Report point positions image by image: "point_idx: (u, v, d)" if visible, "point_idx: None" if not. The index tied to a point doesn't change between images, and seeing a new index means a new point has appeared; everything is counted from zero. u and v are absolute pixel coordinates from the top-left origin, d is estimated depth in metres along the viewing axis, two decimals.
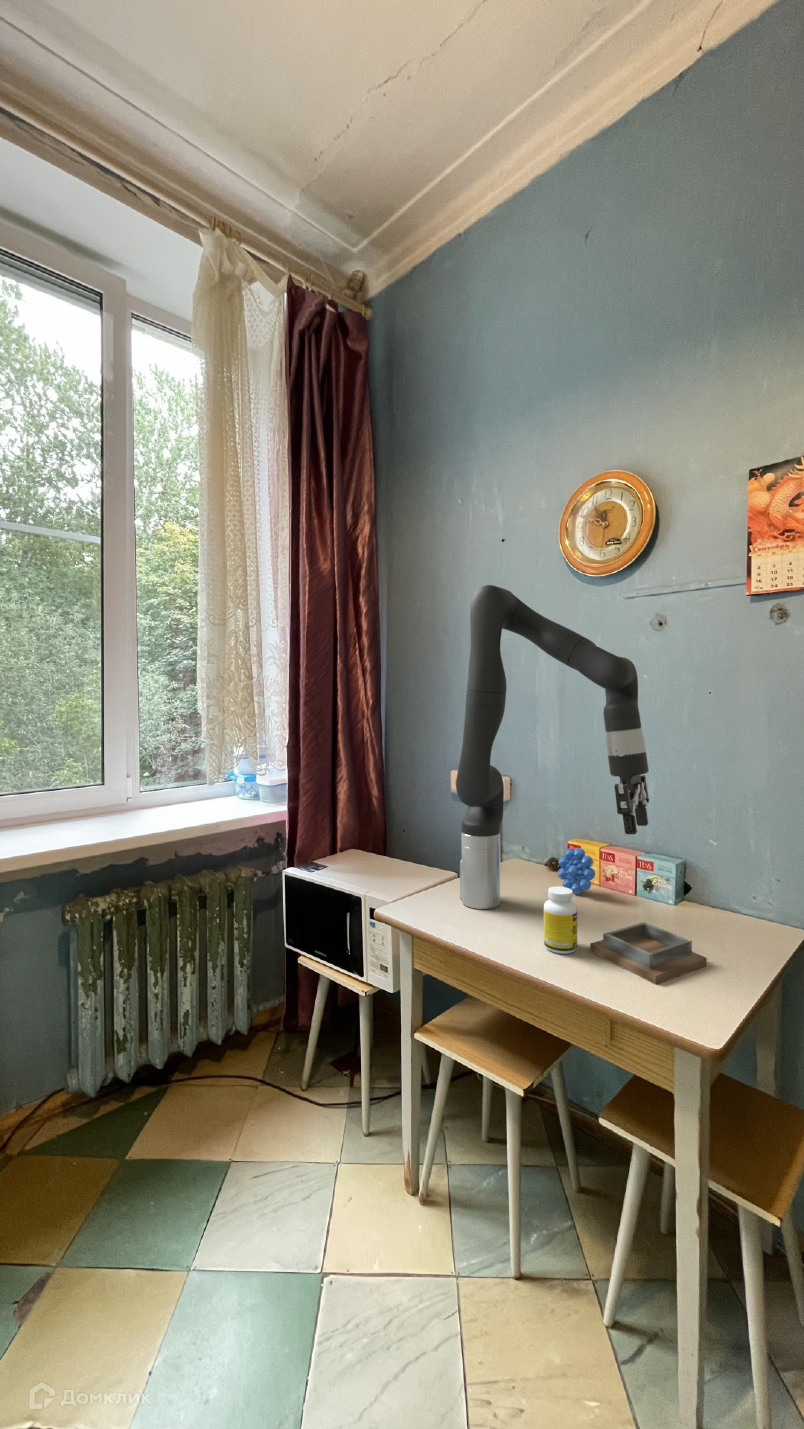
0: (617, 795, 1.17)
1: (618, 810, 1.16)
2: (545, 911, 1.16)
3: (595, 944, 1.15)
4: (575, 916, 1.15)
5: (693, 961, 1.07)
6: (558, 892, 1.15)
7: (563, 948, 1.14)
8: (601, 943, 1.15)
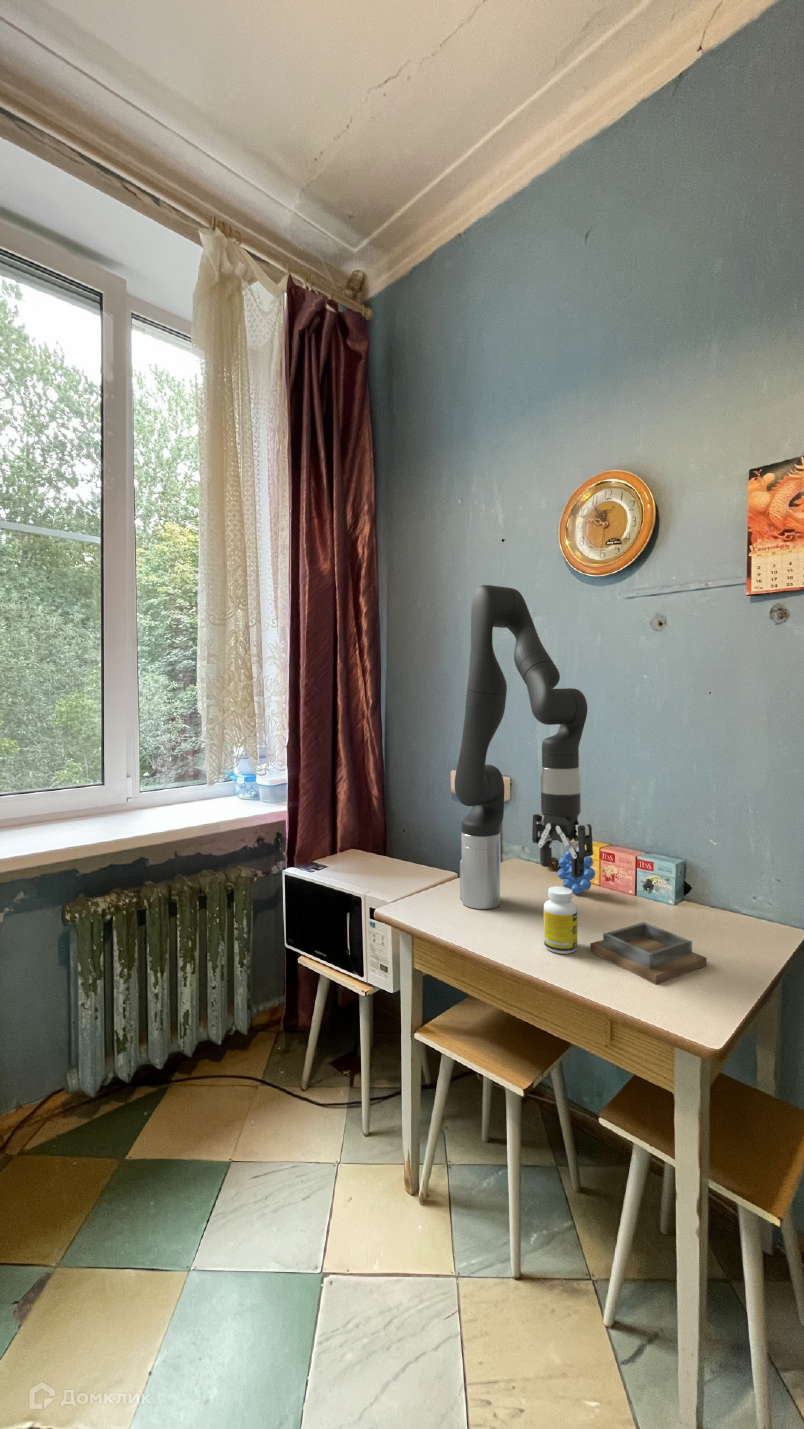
0: None
1: None
2: (545, 911, 1.16)
3: (595, 944, 1.15)
4: (575, 916, 1.15)
5: (693, 961, 1.07)
6: (558, 892, 1.15)
7: (563, 948, 1.14)
8: (601, 943, 1.15)
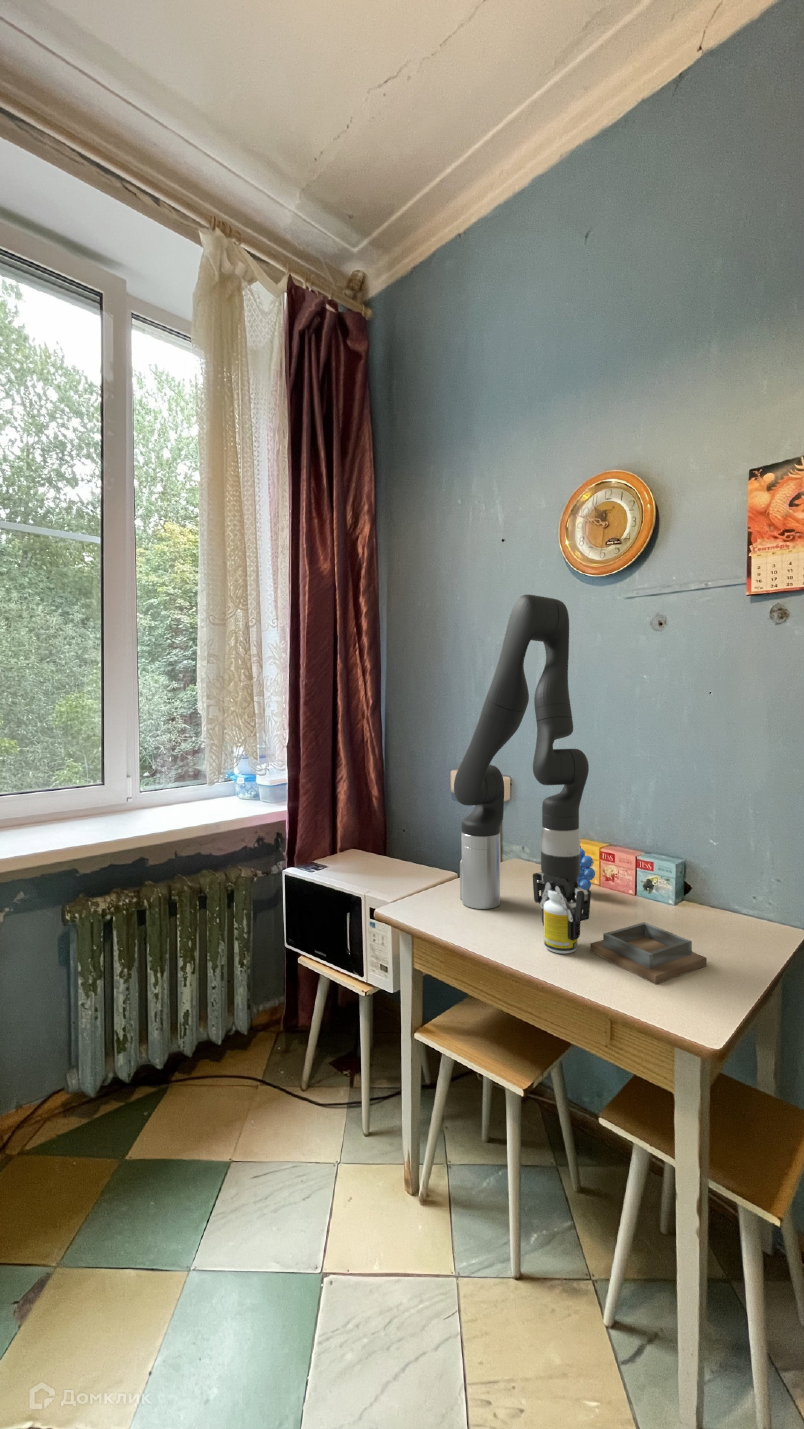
0: None
1: None
2: (545, 911, 1.16)
3: (595, 944, 1.15)
4: None
5: (693, 961, 1.07)
6: None
7: (563, 947, 1.14)
8: (601, 943, 1.15)
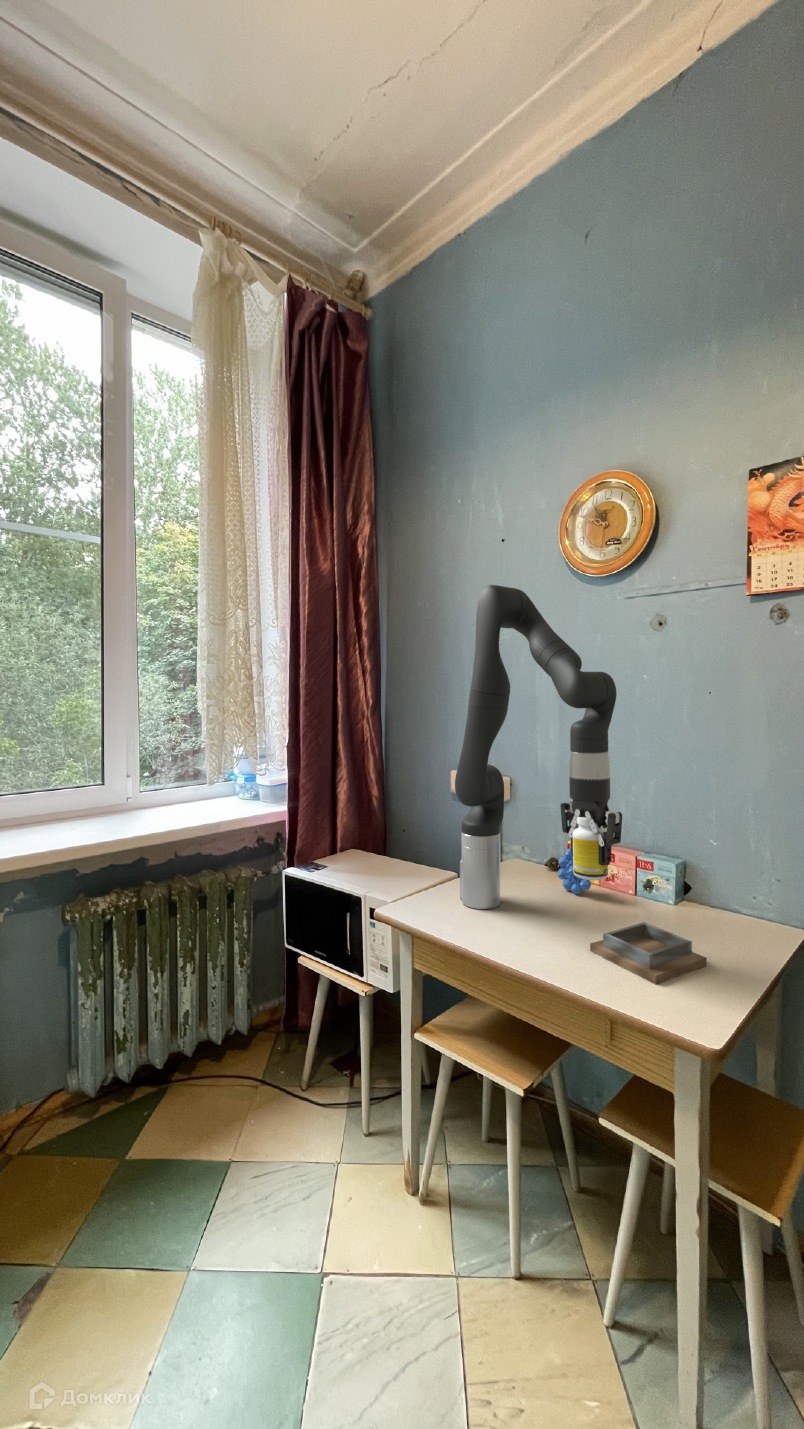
0: None
1: None
2: (574, 838, 1.13)
3: (595, 944, 1.15)
4: None
5: (693, 961, 1.07)
6: None
7: (594, 874, 1.11)
8: (601, 943, 1.15)
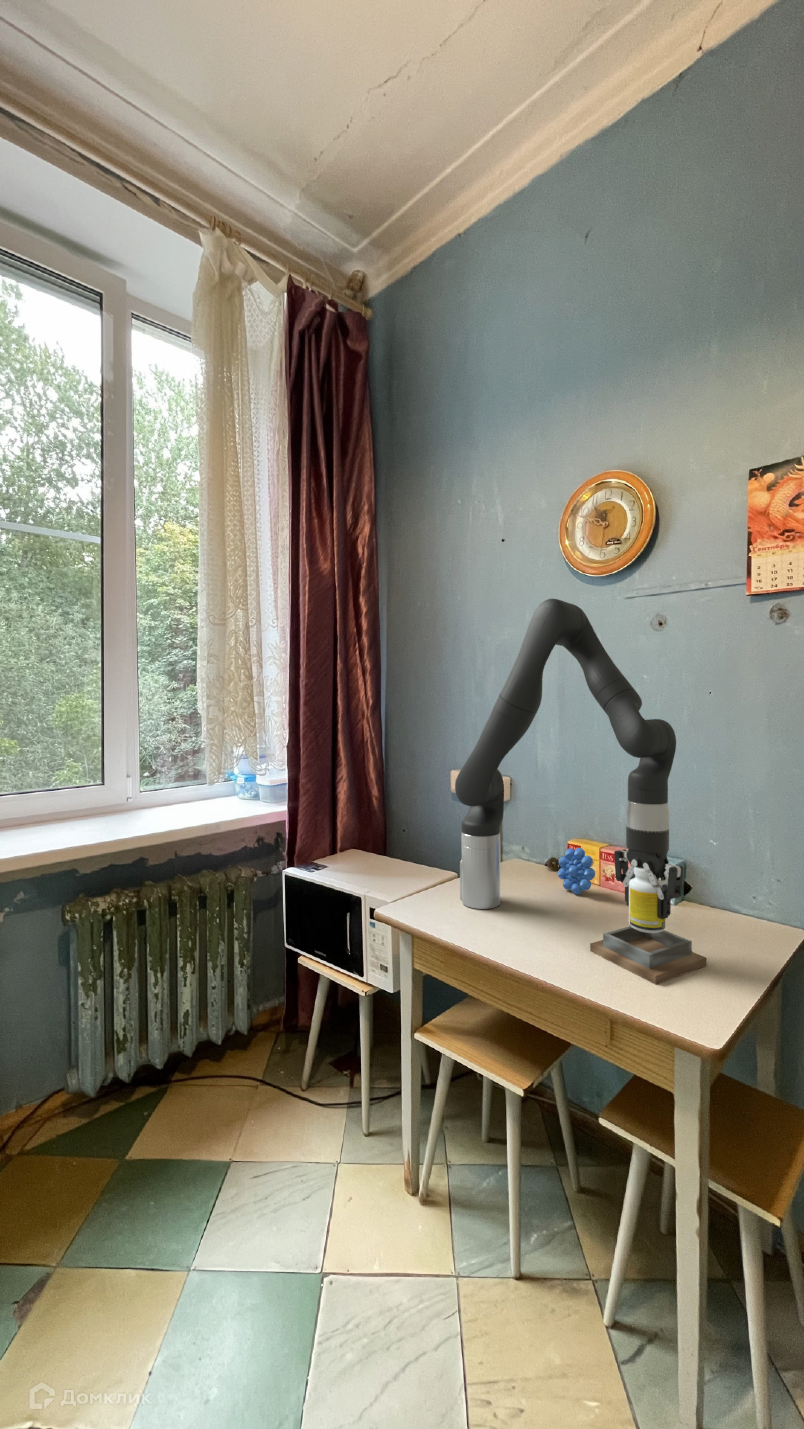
0: None
1: None
2: (631, 889, 1.11)
3: (595, 944, 1.15)
4: None
5: (693, 961, 1.07)
6: None
7: (652, 927, 1.09)
8: (601, 943, 1.15)
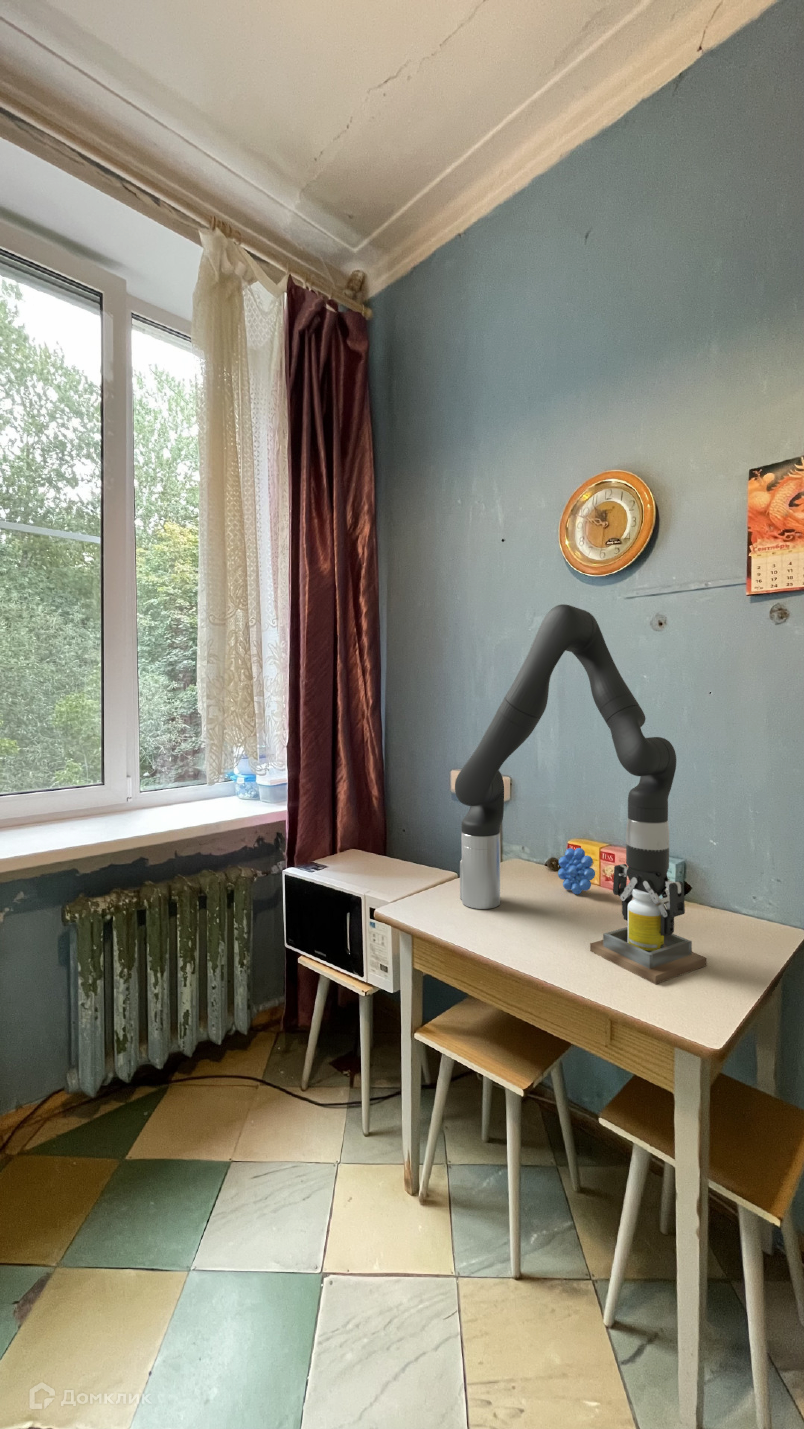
0: None
1: None
2: (630, 912, 1.11)
3: (595, 944, 1.15)
4: None
5: (693, 961, 1.07)
6: (644, 892, 1.11)
7: (651, 950, 1.09)
8: (601, 943, 1.15)
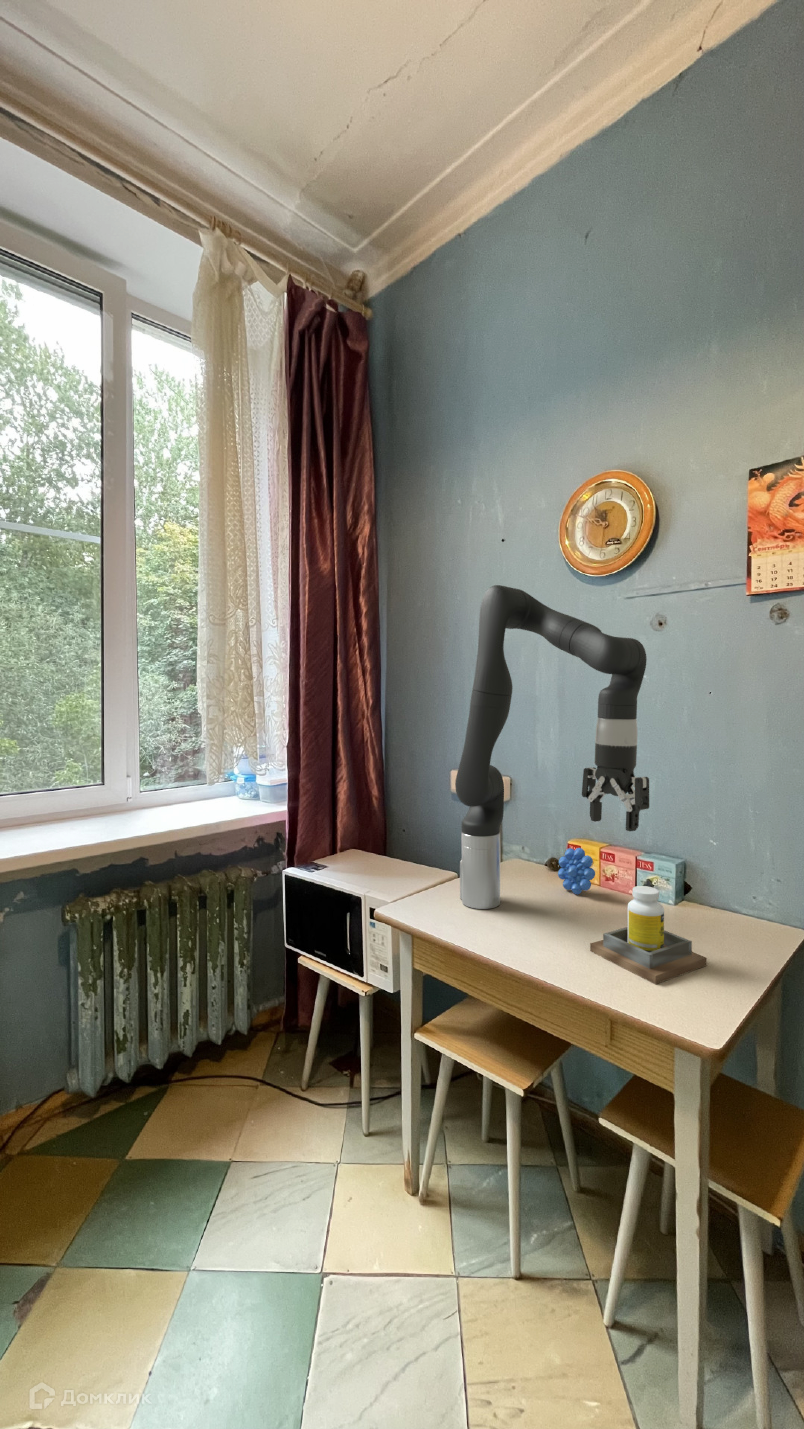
0: None
1: None
2: (630, 912, 1.11)
3: (595, 944, 1.15)
4: (663, 917, 1.10)
5: (693, 961, 1.07)
6: (644, 892, 1.11)
7: (651, 950, 1.09)
8: (601, 943, 1.15)
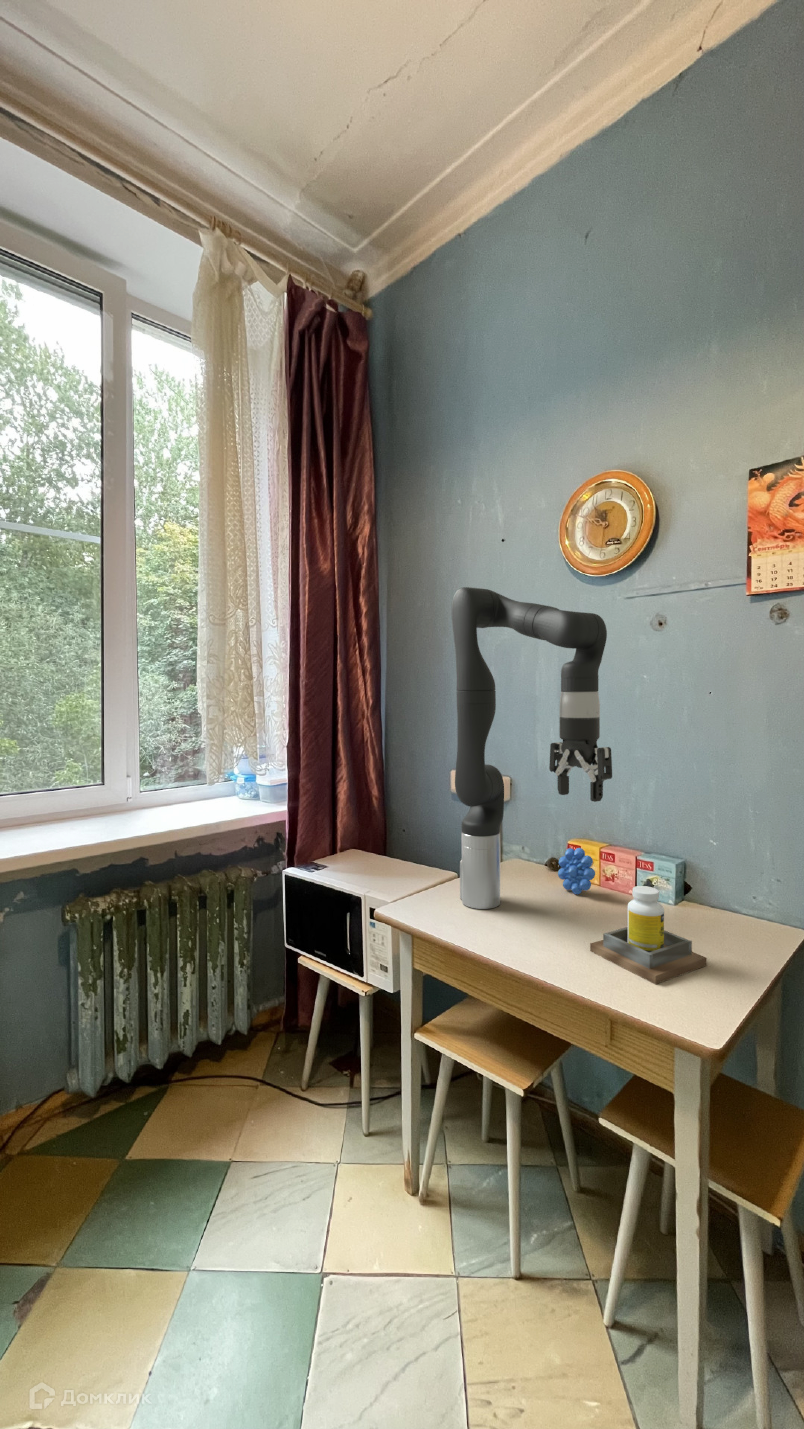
0: None
1: None
2: (630, 912, 1.11)
3: (595, 944, 1.15)
4: (663, 917, 1.10)
5: (693, 961, 1.07)
6: (644, 892, 1.11)
7: (651, 950, 1.09)
8: (601, 943, 1.15)
